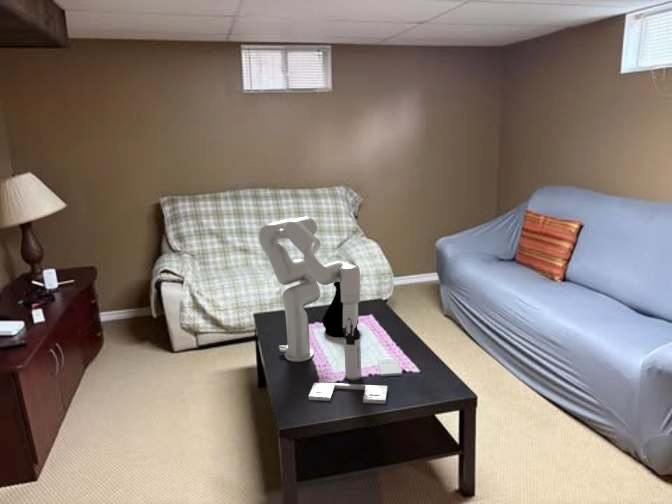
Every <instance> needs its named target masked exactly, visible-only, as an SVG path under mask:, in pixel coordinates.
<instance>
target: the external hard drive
mask: <svg viewBox="0 0 672 504" xmlns="http://www.w3.org/2000/svg"><path fill="white" fill-rule="evenodd" d="M377 364H378V369H379V368H380V369H379V372H380V376H381V377H393V376H394V377H395V376H402V375H403V372H402V369H401V367H400V365H399V362H398V359H396V358H391V359H390V358H389V359H379V360H377Z"/></svg>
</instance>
